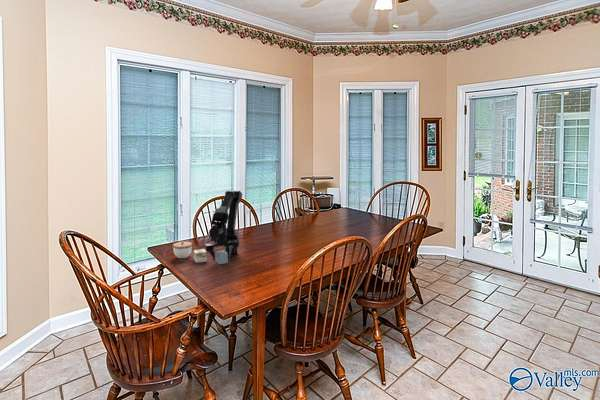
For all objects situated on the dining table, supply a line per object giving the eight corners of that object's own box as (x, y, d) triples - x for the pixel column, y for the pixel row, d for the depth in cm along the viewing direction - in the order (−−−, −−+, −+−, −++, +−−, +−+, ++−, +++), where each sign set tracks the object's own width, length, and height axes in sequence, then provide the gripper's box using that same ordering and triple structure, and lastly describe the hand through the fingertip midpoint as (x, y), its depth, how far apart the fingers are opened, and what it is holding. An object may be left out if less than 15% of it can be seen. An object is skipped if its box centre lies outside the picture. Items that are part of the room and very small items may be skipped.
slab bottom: (204, 258, 211) (203, 253, 211) (206, 261, 206) (206, 256, 206) (193, 260, 208) (193, 255, 208) (196, 263, 203) (196, 258, 203)
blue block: (224, 260, 208) (224, 250, 207) (227, 262, 204) (227, 252, 203) (216, 261, 206) (216, 251, 205) (219, 264, 201) (218, 254, 200)
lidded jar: (172, 260, 207) (172, 244, 205) (174, 254, 217) (173, 239, 215) (192, 259, 209) (191, 243, 208) (192, 253, 220) (192, 238, 218)
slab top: (204, 253, 211) (204, 248, 210) (206, 256, 205) (206, 251, 205) (193, 255, 208) (193, 250, 208) (195, 258, 203) (195, 253, 202)
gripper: (232, 228, 213) (232, 253, 216) (200, 232, 204) (201, 258, 207) (239, 232, 204) (239, 259, 207) (206, 236, 195) (207, 264, 197)
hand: (221, 260), depth 205 cm, fingers open, 9 cm apart
